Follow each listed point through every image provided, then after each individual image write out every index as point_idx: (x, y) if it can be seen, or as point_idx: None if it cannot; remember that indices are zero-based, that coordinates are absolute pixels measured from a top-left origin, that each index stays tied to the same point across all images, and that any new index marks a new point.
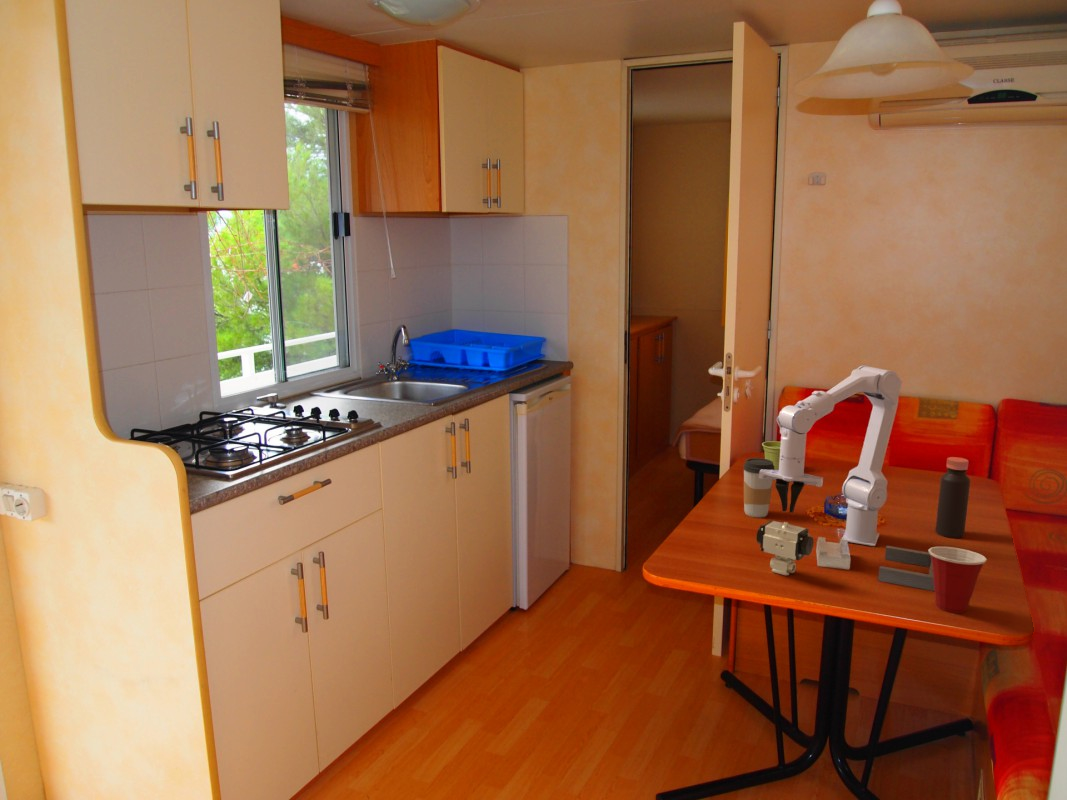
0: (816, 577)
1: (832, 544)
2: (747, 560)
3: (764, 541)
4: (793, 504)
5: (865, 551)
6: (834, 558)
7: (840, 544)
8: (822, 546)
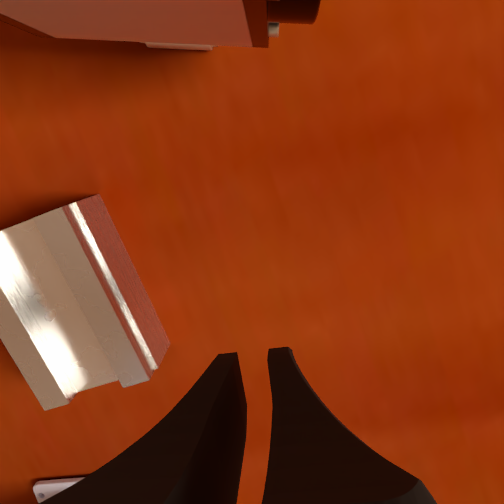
0: (44, 58)
1: (91, 362)
2: (370, 55)
3: None
4: (193, 387)
5: (40, 430)
6: (19, 223)
7: (51, 361)
8: (81, 276)
